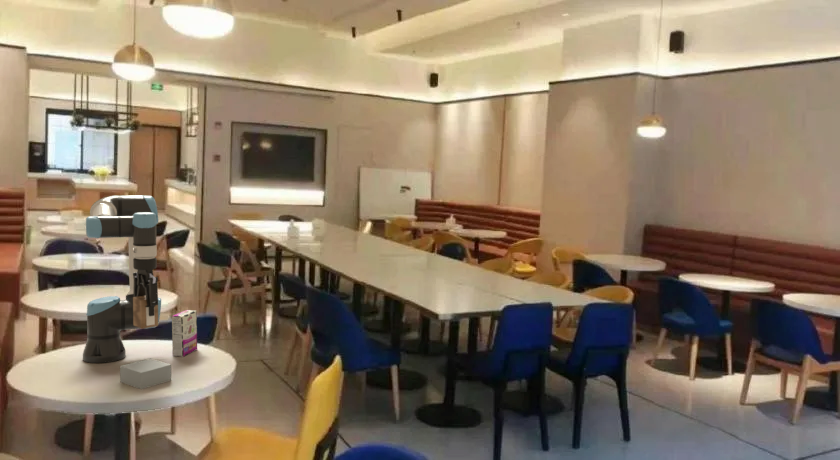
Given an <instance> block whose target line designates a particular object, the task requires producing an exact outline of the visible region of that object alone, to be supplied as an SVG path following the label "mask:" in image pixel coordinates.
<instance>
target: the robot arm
mask: <svg viewBox="0 0 840 460" xmlns="http://www.w3.org/2000/svg"><path fill="white" fill-rule="evenodd" d="M157 206H158V205H157V202H156V200H155V197H153V196H152V195H142V194H141V195H115V194H114V195H109V196H104V197H102V198H100V199H98V200H96V201H95V202H94V203H93V204H92V205H91V207H90V209H89V216H87V217H86V219H85V235H86V237H87V238H89V239H93V238H94V239H106V238H128V274H129V275H128V276H129V278H128V279H129V291H128V293H126V294H125V299H121V298H120V296H118V295H113V296H112V295H110V296H104V297H100V298H95V299H92V300H90V301H89V302H88V303H87V305H86V316H87V318H86V319H87V320H86V321H87V322H86V323H87V325H86V327H87V329H86V331H87V332H86V333H87V339H86V342H85V346H84V349H83V352H82V361H84V362H86V363H90V364H91V363H92V364H104V363H105V364H106V363H111V362H116V361H120V360H122V359H124V358H126V354H127V353H126V352H127V351H126V348H125V345H124V342H123V340H122V338H121V331H127V330H141V328H139V327H136V326H134V325H133V297H138V296H146V300H147V306H145V307H146V325H147V326H149V325H155V306H156V305H158V325H159V323H160V318H161V310H162V297H161V298H160V297H159V293H158V282H159V277H158V276H154V270H155V269H157V268H158V263H157V261H158V260H157V256H158V254H157V253H158V249H157V247H158V245H157V224H158V223H159V216H158V215H159V211H158V207H157ZM156 327H157V326H155V327H149V328H143V329H144V330H146V329H152V328H156Z"/></svg>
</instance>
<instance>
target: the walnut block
mask: <svg viewBox="0 0 840 460" xmlns="http://www.w3.org/2000/svg"><path fill="white" fill-rule="evenodd" d="M145 306H147V300H146V296H138V297H133V325H134V326H136V327H139V328H141V329H143V328H144V329H145V328H147V329H150V328H149V327H154V328H156V327H158V326H159V324H158V305H156V306H155V325H149V326H147V325H146V307H145ZM155 326H156V327H155ZM141 329H140V330H141Z"/></svg>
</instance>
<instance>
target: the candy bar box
mask: <svg viewBox="0 0 840 460" xmlns="http://www.w3.org/2000/svg"><path fill="white" fill-rule="evenodd" d="M197 315H198V314H197V310H191V309H186V310H183V311H180V312H179V313H176V314H174V315H171V331H172V332H171V337H172V338H171V342H172V344H171V345H172V356H173V357H181V358H184V357H185V356H188V355H190V354H191V353H193V352H195V351H197V350H198V329H197V328H198V324H197V318H198V317H197Z"/></svg>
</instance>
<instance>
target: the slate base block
mask: <svg viewBox="0 0 840 460" xmlns="http://www.w3.org/2000/svg"><path fill="white" fill-rule="evenodd" d="M119 378H120V379H119V381H120V383H122V384H125V385H128V386H131V387H133V388H136V389H140V390H144V389H148V388H150V387H154V386H157V385H161V384H163V383H167V382H170V381H172V363H167V362H164V361H161V360H158V359H153V358H146V359H142V360H138V361H135V362H134V361H133V362H130V363H127V364H122V365H120V366H119Z"/></svg>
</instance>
